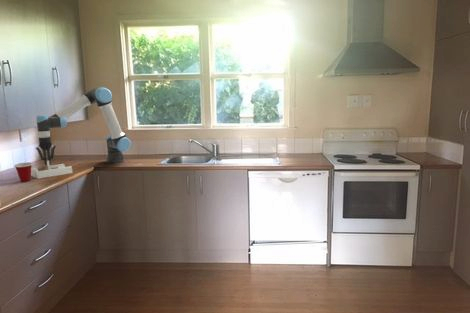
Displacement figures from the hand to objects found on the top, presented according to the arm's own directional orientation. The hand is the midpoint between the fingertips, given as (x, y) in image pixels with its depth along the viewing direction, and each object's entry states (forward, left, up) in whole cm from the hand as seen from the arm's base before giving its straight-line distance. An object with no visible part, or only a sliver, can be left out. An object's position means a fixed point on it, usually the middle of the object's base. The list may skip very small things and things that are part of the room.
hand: (48, 169), depth 262 cm
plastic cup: (+17, +7, -5) cm, 19 cm away
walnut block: (+3, 0, -2) cm, 4 cm away
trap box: (-3, -3, -5) cm, 6 cm away
